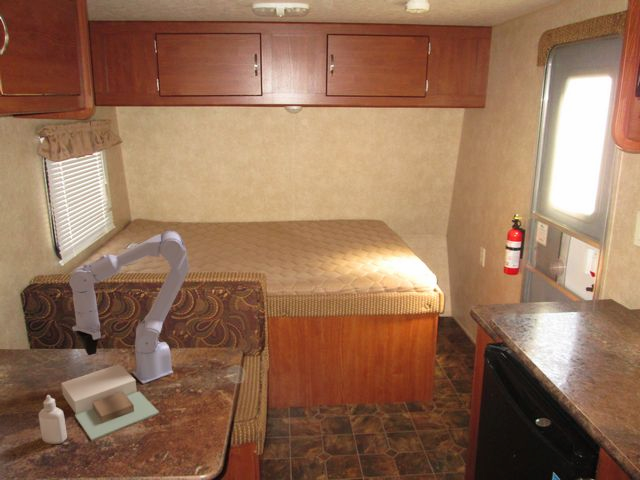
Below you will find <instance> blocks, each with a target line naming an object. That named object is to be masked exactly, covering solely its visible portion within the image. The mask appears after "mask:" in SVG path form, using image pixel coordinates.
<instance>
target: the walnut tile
mask: <svg viewBox="0 0 640 480" xmlns="http://www.w3.org/2000/svg"><path fill="white" fill-rule="evenodd" d="M92 403H93V409H94V411H95V412H96V414H97V415H98V417H99V418H100V420H101V422H102V423H105V422H107V421H110V420H113V419H115V418H118V417H121V416H123V415H126V414H129V413H131V412H134V405H133V404H132V402H131V401H130V400H129V398H128V397H127V396H126V395H125V393H124V392H121V393H118V394H115V395H112V396H109V397H106V398H103V399H100V400H97V401H94V402H92Z"/></svg>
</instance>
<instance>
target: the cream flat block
mask: <svg viewBox="0 0 640 480" xmlns="http://www.w3.org/2000/svg"><path fill="white" fill-rule="evenodd" d="M136 381H137V380H136V379H135V378H134V377H133V375H131V374H130V372H129V371H127V369H125V367H124V366H123V365H121V364H120V363H119V364H115V365H112V366H109V367H106V368H103V369H100V370H96V371H94V372H93V371H92V372H91V373H87V374H85V375H81V376H78V377H76V378H72V379H69V380H66V381H63V382H61V389H62V390H61V392H62V396H63V398H64V399H65V400H66V402H67V403H68V405H69V407H70V408H71V409H72V411H73V412H74V414H75V415H76V414H79V413H82V412H85V411H87V410H90V409H93V403H92V402H94V401H97V400H100V399H103V398H106V397H109V396H112V395H115V394H118V393H121V392H124V393H125V395H126V396H128V395H131V394H133V393H136V392H138V391H137V382H136Z"/></svg>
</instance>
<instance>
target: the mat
mask: <svg viewBox="0 0 640 480" xmlns="http://www.w3.org/2000/svg"><path fill="white" fill-rule="evenodd" d="M127 397H128V398H129V400H130V401H131V402H132V404H133V405H134V412H131V413H129V414H126V415H123V416H121V417H118V418H115V419H113V420H110V421H107V422H105V423H102V422H101V420H100V418H99V417H98V415H97V414H96V412H95V411H94V409H90V410H87V411H85V412H82V413H79V414H76V413H75V415H74V417H75V419H76V421H78V423H79V424H80V426H81V427H82V429H83V430H84V432H85V433H86V435H87V436H88V438H89V439H90V441H91V442H94V441H97V440H98V439H100V438H103V437H105V436H108V435H110V434H113V433H115V432H118V431H121V430H123V429H125V428H128V427H130V426H133V425H135V424H137V423H138V424H139V423H140V422H143V421H144V420H147V419H150V418H152V417H154V416H156V415H159V414H160V411H159V410H158V409H157V408H156V407H155V406H154V405H153V404H152V402H151V401H149V400H148V399H147V398H146V397H145V395H144V394H142V392H141V391H137V392H136V393H133V394H131V395H128V396H127Z"/></svg>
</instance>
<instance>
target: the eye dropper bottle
mask: <svg viewBox="0 0 640 480" xmlns="http://www.w3.org/2000/svg"><path fill="white" fill-rule="evenodd" d="M38 421H39V429H40V433H41V440H42V441H43V442H45V443H47V444H49V445H50V444H52V445H58V444H62V443H63V442H64V441H66V440H67V438H68V434H67V433H68V432H67V426H66V420H65V414H64V411H63V410H62V409H61V408H59V407H57V406H56V399H55V398H53V397H51V395H50V394H47V395H46V398H45V399H44V401H43V408H42V409H41V410H40V411H39V413H38Z"/></svg>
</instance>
